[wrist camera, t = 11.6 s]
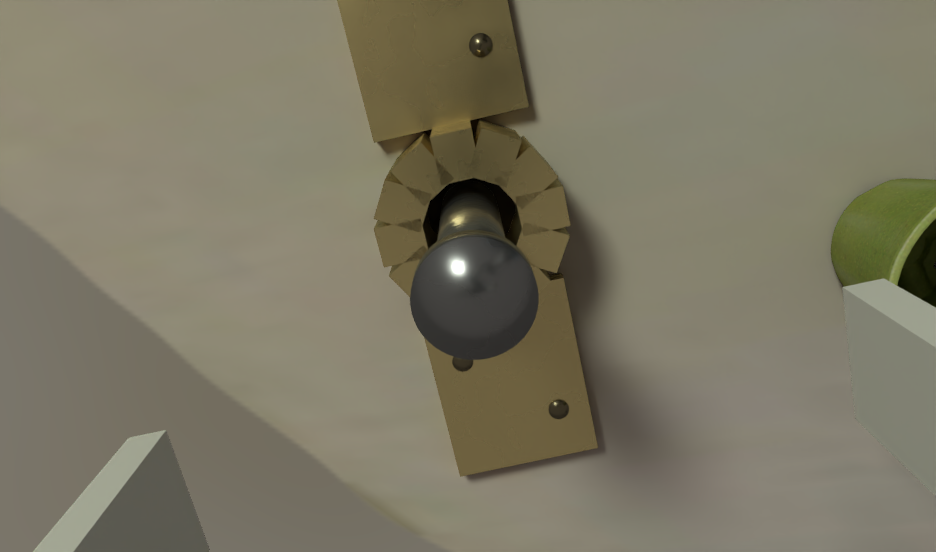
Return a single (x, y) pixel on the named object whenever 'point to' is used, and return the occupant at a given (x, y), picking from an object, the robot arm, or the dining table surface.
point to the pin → (473, 280)
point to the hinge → (460, 158)
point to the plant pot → (890, 237)
